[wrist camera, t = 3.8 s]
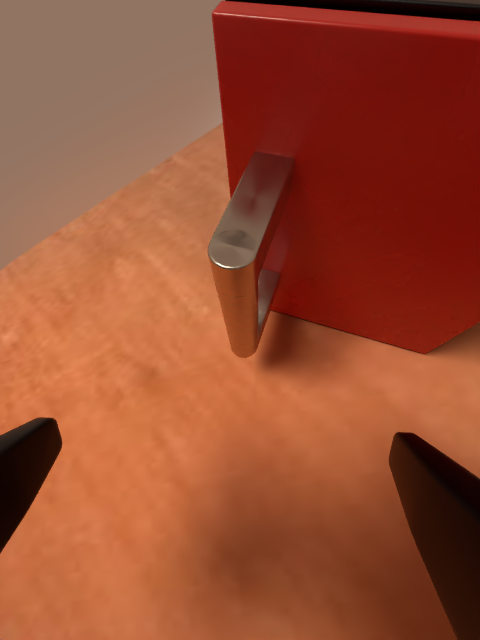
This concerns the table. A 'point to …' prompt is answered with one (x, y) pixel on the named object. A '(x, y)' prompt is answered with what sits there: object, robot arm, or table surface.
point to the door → (348, 173)
